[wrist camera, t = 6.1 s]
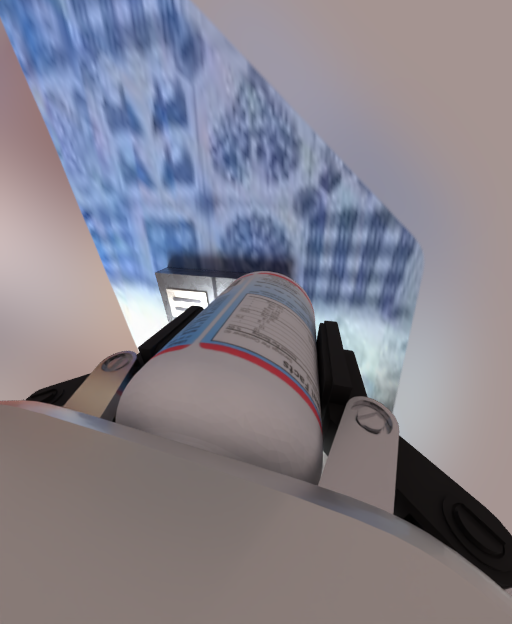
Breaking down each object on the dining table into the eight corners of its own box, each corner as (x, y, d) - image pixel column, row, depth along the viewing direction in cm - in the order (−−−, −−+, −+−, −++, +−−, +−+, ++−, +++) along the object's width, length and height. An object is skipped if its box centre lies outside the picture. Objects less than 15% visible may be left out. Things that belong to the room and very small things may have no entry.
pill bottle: (239, 352, 15) (103, 621, 5) (212, 277, 12) (-152, 526, 3) (321, 348, 13) (354, 789, 3) (309, 258, 10) (277, 1118, 1)
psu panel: (284, 275, 28) (281, 283, 25) (280, 331, 32) (278, 343, 30) (167, 267, 32) (153, 273, 29) (179, 317, 37) (168, 326, 34)
